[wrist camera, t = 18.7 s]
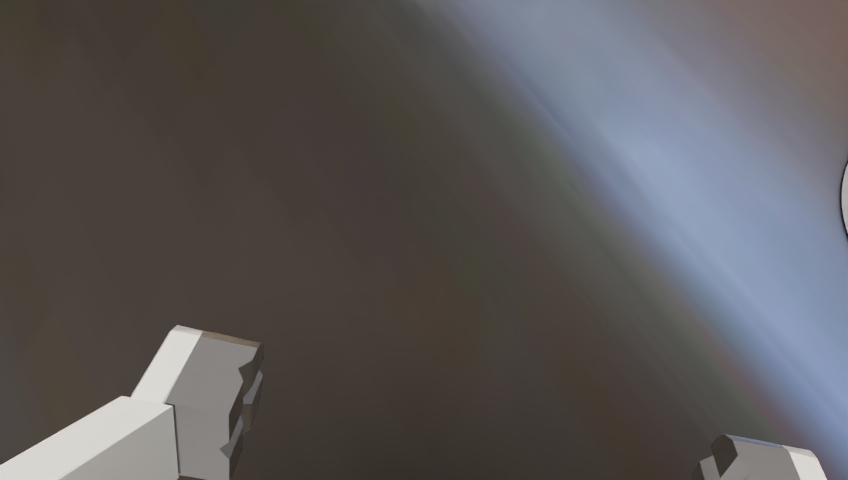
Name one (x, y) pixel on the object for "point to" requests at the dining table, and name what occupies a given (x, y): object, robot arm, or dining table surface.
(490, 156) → the dining table surface
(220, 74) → the dining table surface
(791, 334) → the dining table surface
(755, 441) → the robot arm
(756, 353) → the dining table surface
